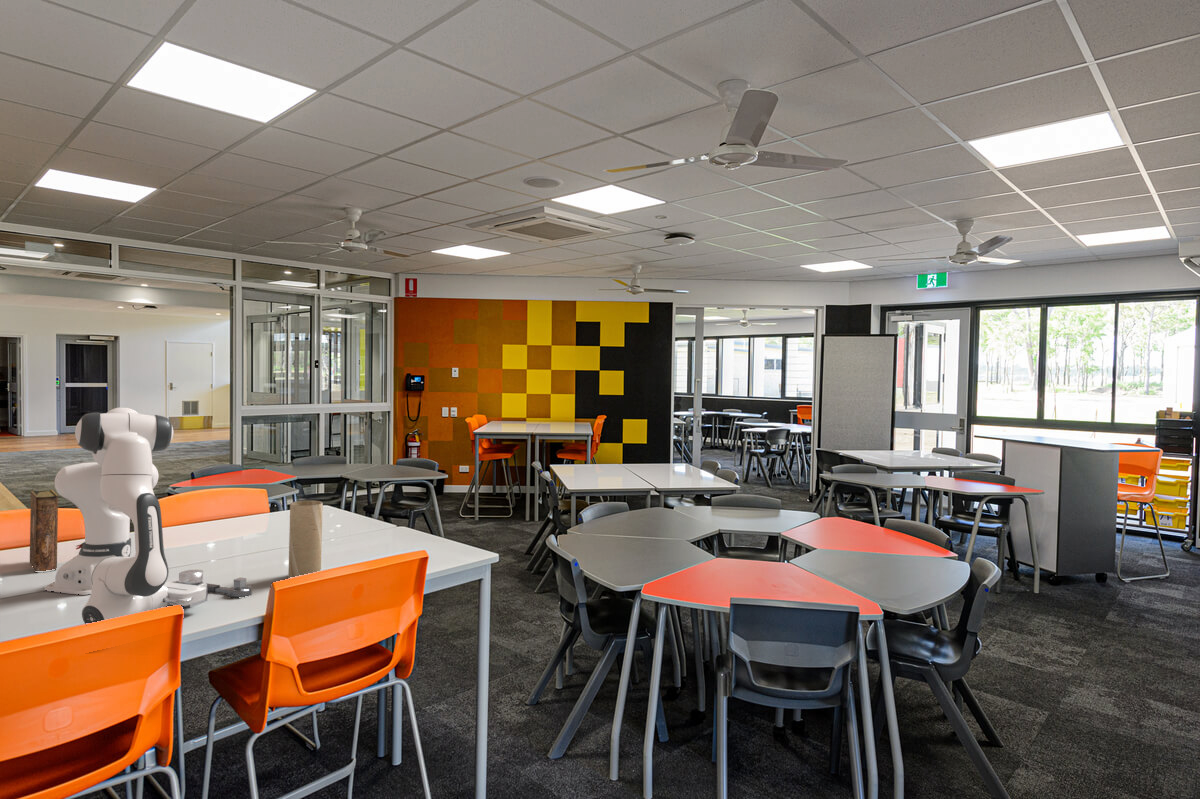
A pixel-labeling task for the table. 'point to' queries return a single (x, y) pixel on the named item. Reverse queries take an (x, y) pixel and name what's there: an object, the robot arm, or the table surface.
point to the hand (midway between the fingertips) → (193, 584)
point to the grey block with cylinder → (192, 581)
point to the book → (43, 530)
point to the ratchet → (232, 589)
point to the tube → (305, 537)
